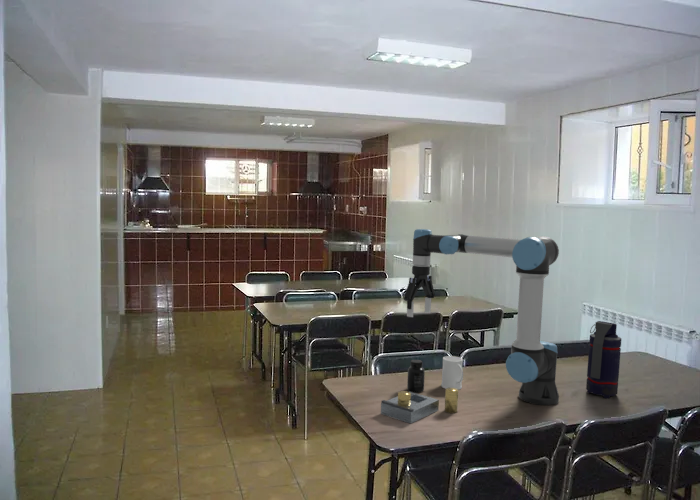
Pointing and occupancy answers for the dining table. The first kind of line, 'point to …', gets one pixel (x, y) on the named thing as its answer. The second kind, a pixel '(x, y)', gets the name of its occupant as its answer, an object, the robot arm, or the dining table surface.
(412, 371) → the supplement bottle
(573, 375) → the dining table surface
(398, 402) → the block
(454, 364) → the mug
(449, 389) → the cylinder
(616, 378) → the grenade
